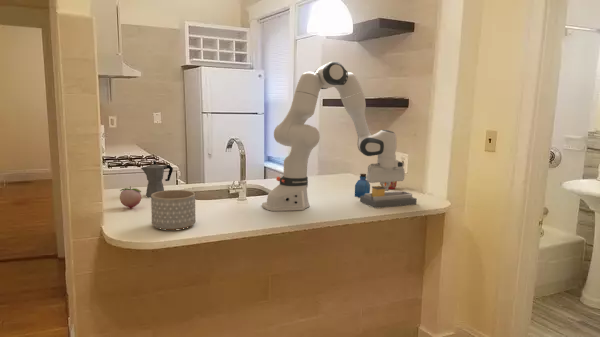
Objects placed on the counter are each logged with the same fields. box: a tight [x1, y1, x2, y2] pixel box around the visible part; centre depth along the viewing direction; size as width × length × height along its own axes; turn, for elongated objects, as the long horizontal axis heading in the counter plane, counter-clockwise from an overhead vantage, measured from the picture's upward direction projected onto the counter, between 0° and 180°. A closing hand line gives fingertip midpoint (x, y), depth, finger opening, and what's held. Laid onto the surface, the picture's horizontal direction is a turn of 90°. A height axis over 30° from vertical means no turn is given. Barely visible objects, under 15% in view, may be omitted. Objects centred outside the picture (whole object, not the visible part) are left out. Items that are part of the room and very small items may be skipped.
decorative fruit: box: [119, 185, 142, 209], centre depth 198 cm, size 9×8×10 cm
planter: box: [150, 189, 197, 231], centre depth 173 cm, size 16×16×13 cm
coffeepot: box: [140, 160, 174, 198], centre depth 224 cm, size 15×9×18 cm, turn 116°
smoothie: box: [384, 181, 398, 190], centre depth 258 cm, size 8×8×20 cm
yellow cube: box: [371, 185, 386, 197], centre depth 219 cm, size 4×5×5 cm
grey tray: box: [359, 190, 417, 209], centre depth 222 cm, size 24×14×5 cm, turn 114°
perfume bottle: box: [354, 173, 371, 198], centre depth 236 cm, size 6×6×12 cm
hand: (384, 190), depth 220 cm, fingers closed
